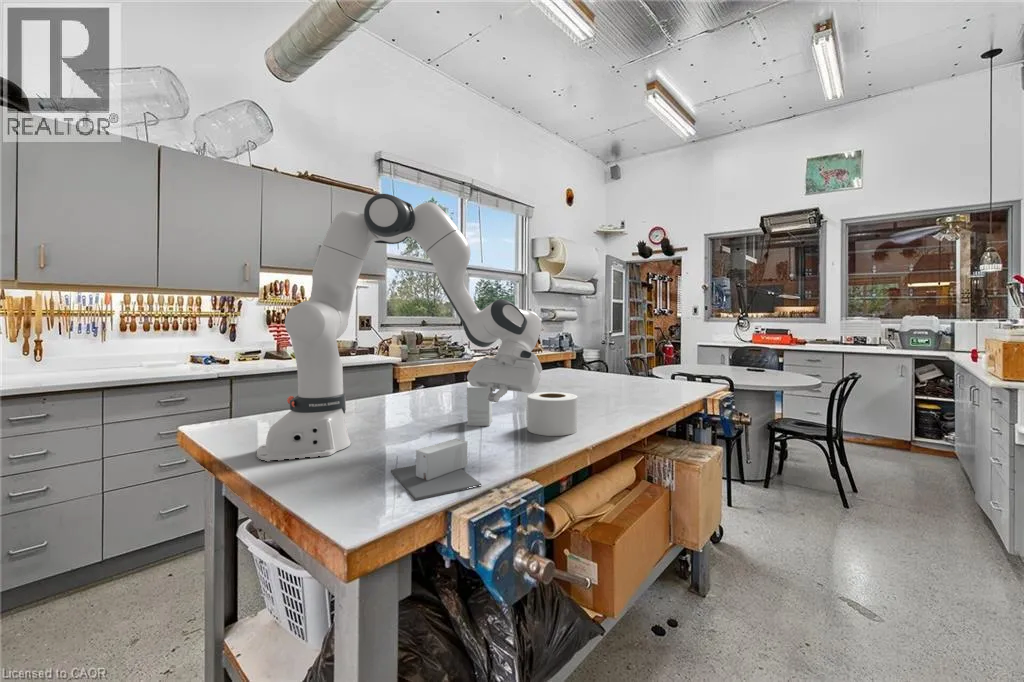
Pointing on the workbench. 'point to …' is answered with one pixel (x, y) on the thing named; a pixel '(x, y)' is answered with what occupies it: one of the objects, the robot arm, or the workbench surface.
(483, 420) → the supplement box
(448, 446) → the skincare box
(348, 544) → the workbench surface
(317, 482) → the workbench surface
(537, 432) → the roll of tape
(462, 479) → the rubber mat
